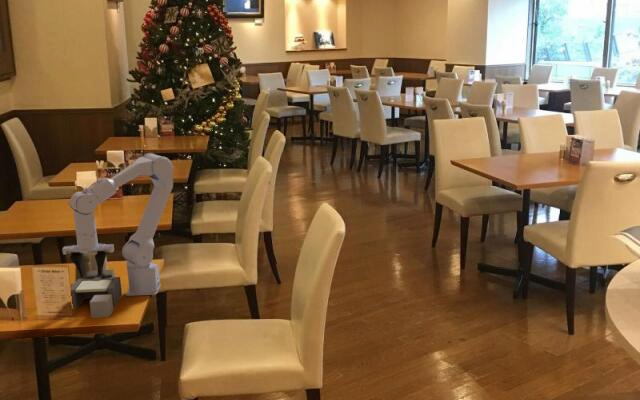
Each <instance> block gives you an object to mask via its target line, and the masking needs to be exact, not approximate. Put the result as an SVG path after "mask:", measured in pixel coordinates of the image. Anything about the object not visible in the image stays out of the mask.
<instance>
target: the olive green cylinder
mask: <svg viewBox="0 0 640 400" xmlns="http://www.w3.org/2000/svg"><path fill="white" fill-rule="evenodd" d="M89 260H90V255H89V253H83V261H84V269H85V275H84V276H83V277H81V276H80V273H79V271H78V269H77V267H76V266H75V282H76V281H77V279H86V273H87V271H91V268H90V261H89ZM75 282H74V283H75Z"/></svg>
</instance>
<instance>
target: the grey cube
mask: <svg viewBox="0 0 640 400" xmlns="http://www.w3.org/2000/svg"><path fill="white" fill-rule="evenodd" d="M89 307H90V315H91V318H93V319H95V318H110V317H111V315H112V313H113V311H114V307H113V302H112V294H110V295H94V297H93V298H91V299H90V300H89Z"/></svg>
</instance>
